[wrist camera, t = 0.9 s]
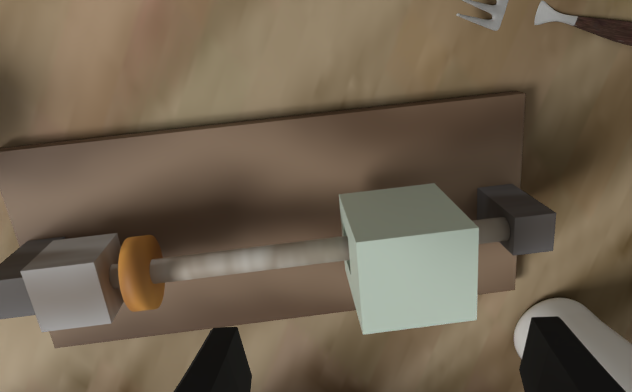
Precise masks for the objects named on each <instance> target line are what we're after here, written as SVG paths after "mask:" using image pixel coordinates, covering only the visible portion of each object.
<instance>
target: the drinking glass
mask: <svg viewBox="0 0 632 392" xmlns="http://www.w3.org/2000/svg"><path fill="white" fill-rule="evenodd" d="M554 316H558V317H560V318H561V319H562V320H563V321H564V323H565V324H566V325H567V326H568V327H569V328H570V330H571V331H572V332H573V333H574V334H575V335H576V337H577V338H578V339H579V340H580V341H581V342H582V344H583V345H584V346H585V347H586V348H587V349H588V350H589V352H590V353H591V354H592V355H593V356H594V357H595V358H596V359H597V361H598V362H599V363H600V364H601V365H602V366H603V367H604V368H605V370H606V371H607V372H608V373H609V374H610V375H611V376H612V377H613V378H614V379H615V381H616V382H617V383H618V384H619V385H620V386H621V387H622V388H623V389H624V390H625V391H626V392H632V344H631V343H630V342H629V341H627V340H626V339H625V338H623V337H622V336H621V335H619V334H618V333H617V332H615V331H614V330H613V329H612V328H610V327H609V326H608V325H606V324H605V323H604V322H602V321H601V320H600V319H599V318H598V317H597V316H596V315H594V314H593V313H592V312H591V311H590V310H589V309H588V308H587V307H585V306H584V305H583V304H581V303H579V302H577V301H575V300H572V299H568V298H551V299H547V300H544V301H541V302H539V303H537V304H535V305H534V306H532V307H531V308H529V309H528V310H527V311H526V312H525V313H524V314H523V315H522V317H521V318H520V319H519V321H518V323H517V325H516V328H515V331H514V345H515V349H516V351H517V353H518V355H519V357H520V358H521V359H522V356H523V352H524V347H525V343H526V339H527V335H528V330H529V326H530V322H531V317H554Z"/></svg>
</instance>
